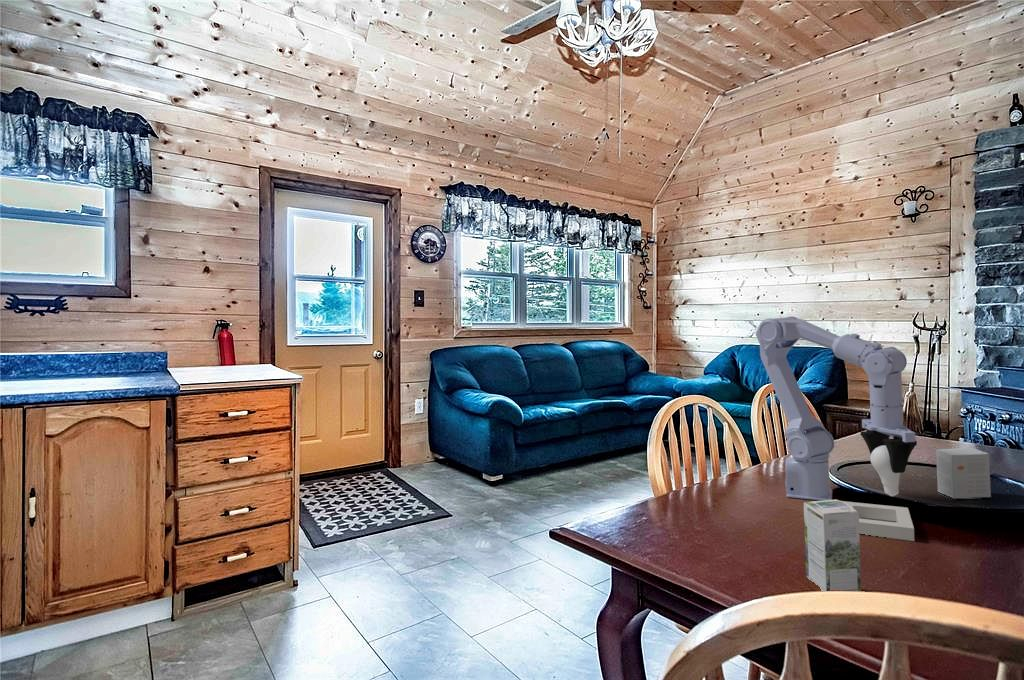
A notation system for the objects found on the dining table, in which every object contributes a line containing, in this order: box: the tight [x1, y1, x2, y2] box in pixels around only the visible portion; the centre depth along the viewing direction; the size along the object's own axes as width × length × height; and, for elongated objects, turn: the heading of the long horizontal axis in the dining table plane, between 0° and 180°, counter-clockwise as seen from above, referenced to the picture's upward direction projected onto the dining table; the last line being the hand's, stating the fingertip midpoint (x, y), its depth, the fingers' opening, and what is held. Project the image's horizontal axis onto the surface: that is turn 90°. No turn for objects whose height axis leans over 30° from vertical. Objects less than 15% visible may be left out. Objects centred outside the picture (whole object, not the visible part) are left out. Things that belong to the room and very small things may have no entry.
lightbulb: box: [869, 445, 901, 497], centre depth 118 cm, size 6×6×11 cm
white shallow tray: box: [841, 500, 915, 542], centre depth 113 cm, size 12×12×2 cm
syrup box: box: [803, 499, 862, 592], centre depth 89 cm, size 6×6×14 cm
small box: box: [935, 447, 992, 498], centre depth 126 cm, size 8×6×10 cm
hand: (888, 468), depth 118 cm, fingers closed on lightbulb, 6 cm apart
